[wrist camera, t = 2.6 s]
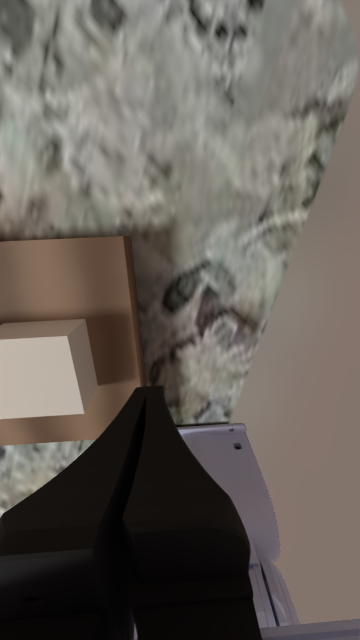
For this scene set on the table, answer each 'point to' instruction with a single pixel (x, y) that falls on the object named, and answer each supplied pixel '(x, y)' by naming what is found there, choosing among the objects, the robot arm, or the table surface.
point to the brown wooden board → (77, 303)
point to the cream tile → (45, 369)
